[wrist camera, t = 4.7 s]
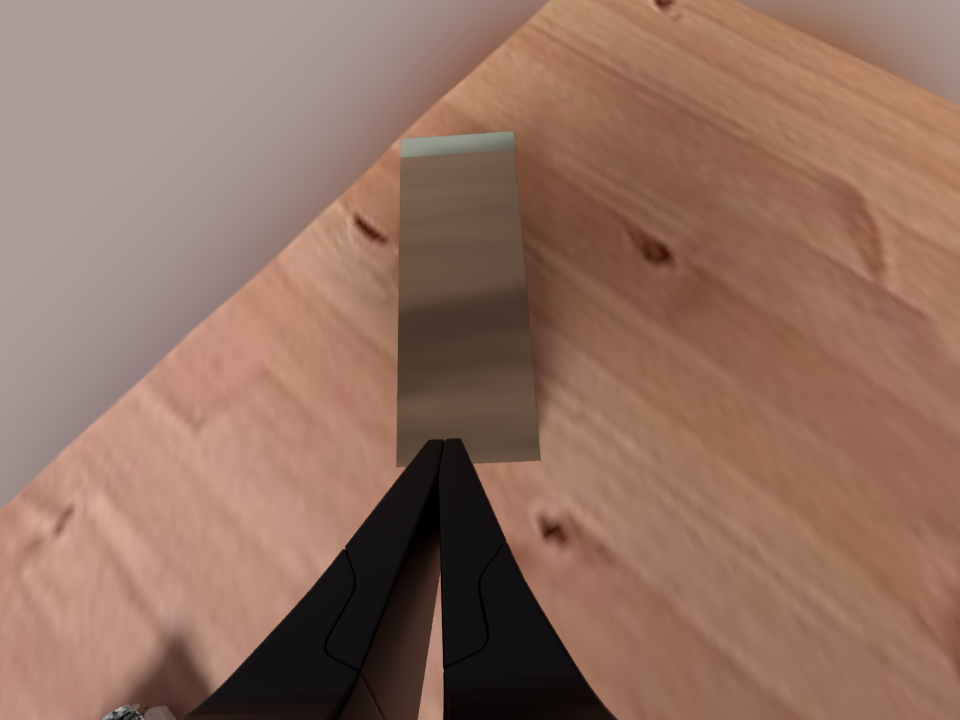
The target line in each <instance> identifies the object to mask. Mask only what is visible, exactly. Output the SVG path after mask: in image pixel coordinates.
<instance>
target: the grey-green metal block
mask: <svg viewBox="0 0 960 720" xmlns="http://www.w3.org/2000/svg"><path fill="white" fill-rule="evenodd" d="M448 438H460V439H462V441H463V443H464V446H465V448H466V450H467V453H468V455H469V457H470V459H471V462H472V464H476V463H499V462H522V461H541V458H540V446H539V434H538V422H537V410H536V397H535V385H534V373H533V361H532V349H531V336H530V324H529V312H528V300H527V288H526V276H525V263H524V251H523V239H522V227H521V215H520V202H519V190H518V178H517V166H516V154H515V142H514V131H508V132H494V133H480V134H466V135H452V136H438V137H424V138H410V139H401V170H400V244H399V317H398V391H397V464H396V467H407V466H408V465H409V464H410V462H411V461H412V460H413V458H414V457H415V456H416V455H417V453H418V452H419V451H420V449H421V448H422V447H423V446H424V444H425V443H426V442H427V441H428V440H430V439H443V440H444V441H445V440H446V439H448Z"/></svg>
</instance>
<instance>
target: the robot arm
mask: <svg viewBox="0 0 960 720" xmlns="http://www.w3.org/2000/svg"><path fill="white" fill-rule="evenodd" d="M345 549H346V550H345ZM345 549H343V550H342V551H341V552H340V553H339V555H338V556H337V557H336V558H335V560H334V561H333V562H332V564H331V565H330V566H329V567H328V569H327V570H326V571H325V572H324V573H323V575H322V576H321V577H320V578H319V580H318V581H317V582H316V583H315V584H314V586H313V587H312V588H311V589H310V590H309V591H308V592H307V594H306V595H305V596H304V597H303V598H302V599H301V600H300V601H299V603H298V604H297V605H296V606H295V607H294V608H293V609H292V610H291V612H290V613H289V614H288V615H287V616H286V617H285V618H284V619H283V620H282V621H281V622H280V623H279V624H278V626H277V627H276V628H275V629H274V630H273V631H272V632H271V633H270V634H269V635H268V636H267V637H266V638H265V640H264V641H263V642H262V643H261V644H260V645H259V646H258V647H257V648H256V649H255V650H254V651H253V652H252V654H251V655H250V656H249V657H248V658H247V659H246V660H245V661H244V662H243V663H242V664H241V665H240V666H239V668H238V669H237V670H236V671H235V672H234V673H233V674H232V675H231V676H230V677H229V678H228V679H227V680H226V681H225V682H224V683H223V684H222V685H221V686H220V687H219V688H218V689H217V690H216V691H215V692H214V693H213V694H212V695H210V696H209V697H208V698H207V699H206V700H205V701H203V702H202V703H201V704H200V705H199V706H197V707H196V708H195V709H193V710H192V711H191V712H189V713H188V714H187V715H185V716H184V717H182V718H181V719H179V720H418V714H419V707H420V701H421V694H422V688H423V681H424V674H425V668H426V661H427V655H428V648H429V642H430V635H431V629H432V622H433V616H434V609H435V602H436V596H437V589H438V583H439V576H440V570H441V605H442V643H443V669H444V673H443V681H444V712H443V720H618V719H617V718H616V717H615V716H614V715H613V714H612V713H611V712H610V711H609V710H608V709H607V707H606V706H605V705H604V704H603V703H602V701H601V700H600V699H599V697H598V696H597V695H596V693H595V692H594V691H593V689H592V688H591V687H590V685H589V684H588V682H587V681H586V679H585V678H584V676H583V675H582V673H581V672H580V670H579V669H578V667H577V666H576V664H575V662H574V661H573V659H572V657H571V656H570V654H569V653H568V651H567V649H566V648H565V646H564V644H563V643H562V641H561V639H560V638H559V636H558V635H557V633H556V631H555V630H554V628H553V626H552V625H551V623H550V621H549V620H548V618H547V617H546V615H545V613H544V612H543V610H542V608H541V607H540V605H539V604H538V602H537V600H536V598H535V596H534V595H533V593H532V591H531V589H530V588H529V586H528V584H527V582H526V581H525V579H524V577H523V575H522V572H521V570H520V568H519V566H518V564H517V562H516V560H515V558H514V556H513V554H512V551H511V549H510V547H509V545H508V543H507V541H506V538H505V536H504V534H503V532H502V529H501V527H500V525H499V523H498V520H497V518H496V516H495V513H494V511H493V509H492V507H491V504H490V502H489V500H488V498H487V495H486V493H485V491H484V489H483V486H482V484H481V482H480V480H479V477H478V475H477V473H476V471H475V468H474V466H473V464H472V462H471V459H470V457H469V455H468V453H467V450H466V448H465V446H464V443H463V441H462V439H460V438H448V439H446V440H445V441H444V440H443V439H430V440H428V441H427V442H426V443H425V444H424V446H423V447H422V448H421V449H420V451H419V452H418V453H417V455H416V456H415V457H414V458H413V460H412V461H411V462H410V464H409V465H408V466H407V467H406V469H405V470H404V471H403V473H402V474H401V475H400V476H399V478H398V479H397V480H396V482H395V483H394V484H393V485H392V487H391V488H390V489H389V491H388V492H387V493H386V494H385V496H384V497H383V498H382V500H381V501H380V502H379V503H378V505H377V506H376V507H375V509H374V510H373V511H372V512H371V514H370V515H369V516H368V518H367V519H366V520H365V521H364V523H363V524H362V525H361V527H360V528H359V529H358V530H357V532H356V533H355V534H354V536H353V537H352V538H351V539H350V541H349V542H348V543H347V545H346V546H345Z"/></svg>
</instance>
